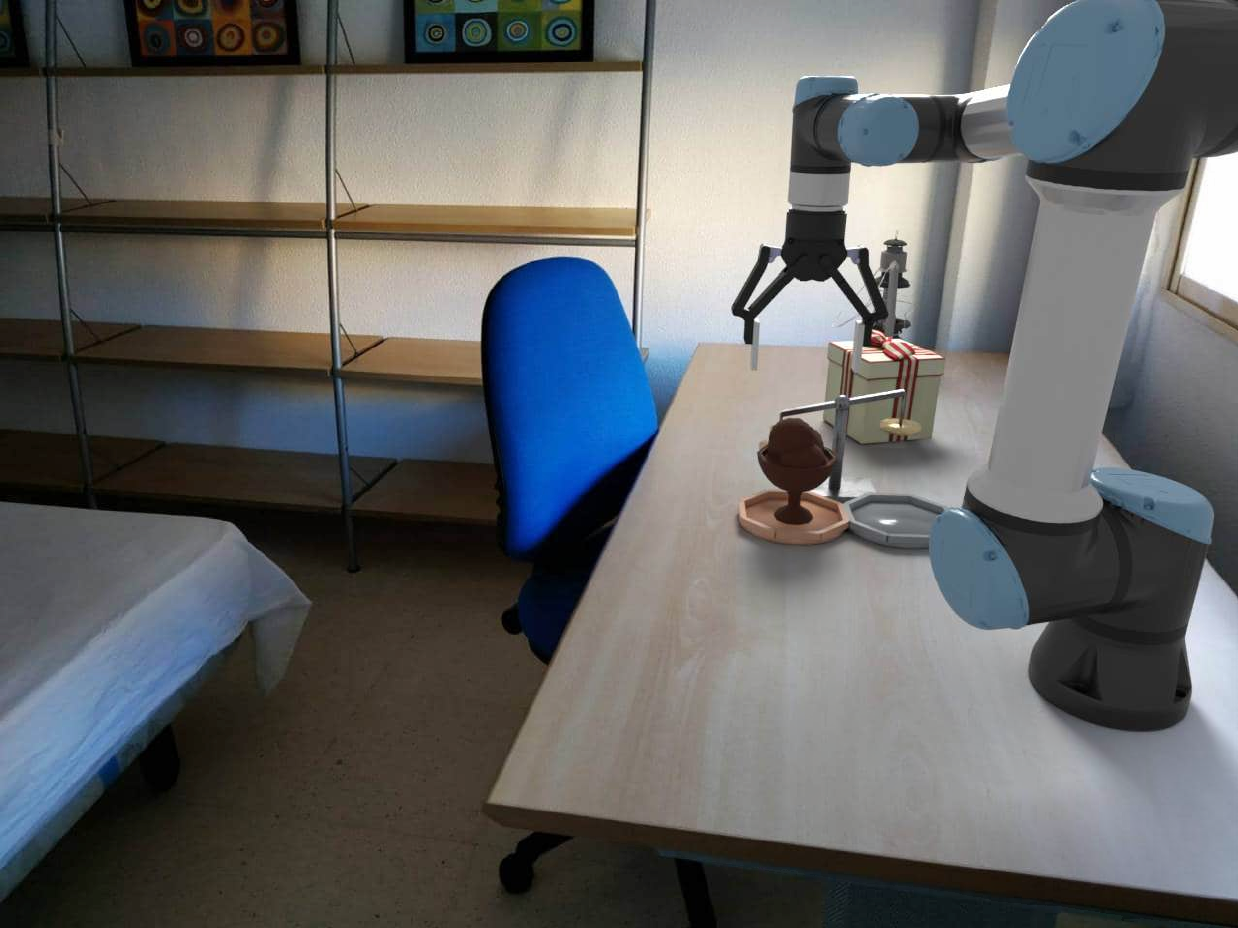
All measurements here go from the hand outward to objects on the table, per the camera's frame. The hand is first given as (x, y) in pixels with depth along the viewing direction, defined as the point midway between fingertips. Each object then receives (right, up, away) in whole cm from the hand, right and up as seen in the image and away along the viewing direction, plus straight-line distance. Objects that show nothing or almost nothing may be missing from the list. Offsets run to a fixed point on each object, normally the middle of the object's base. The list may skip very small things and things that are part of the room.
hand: (804, 369), depth 131 cm
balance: (+8, -17, +18) cm, 26 cm away
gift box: (+23, -6, +47) cm, 53 cm away
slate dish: (+15, -21, +8) cm, 27 cm away
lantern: (+31, +8, +84) cm, 90 cm away
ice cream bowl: (0, -20, +8) cm, 22 cm away
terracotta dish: (0, -21, +8) cm, 23 cm away
